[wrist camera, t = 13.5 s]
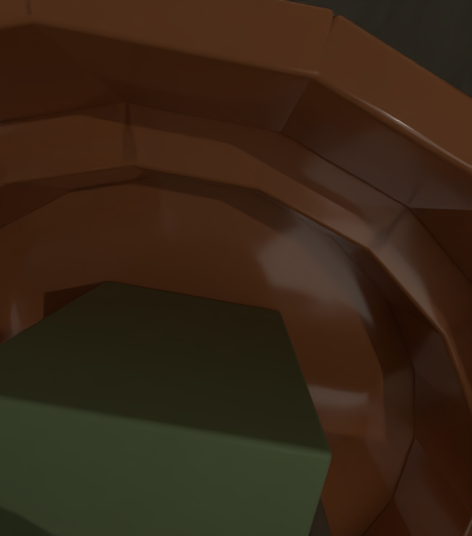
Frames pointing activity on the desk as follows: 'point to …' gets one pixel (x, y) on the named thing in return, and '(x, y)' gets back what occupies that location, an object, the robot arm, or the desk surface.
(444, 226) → the bowl
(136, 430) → the package
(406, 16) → the desk surface
